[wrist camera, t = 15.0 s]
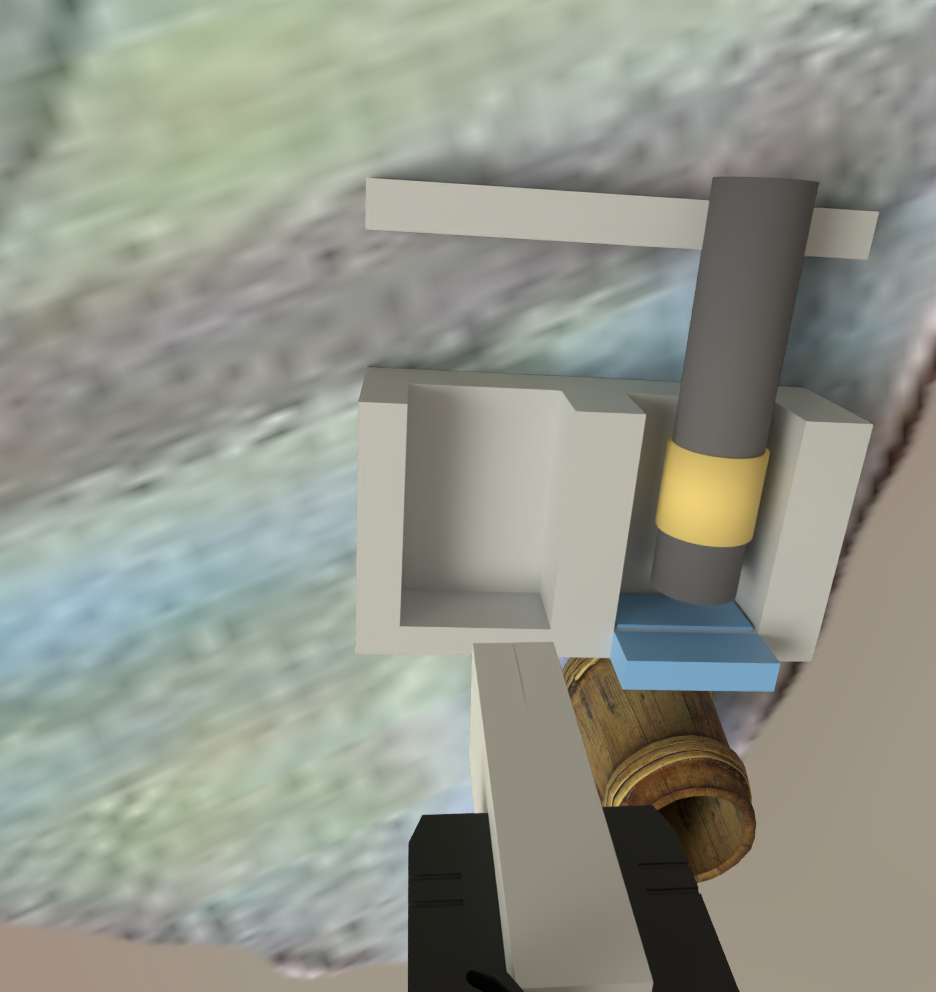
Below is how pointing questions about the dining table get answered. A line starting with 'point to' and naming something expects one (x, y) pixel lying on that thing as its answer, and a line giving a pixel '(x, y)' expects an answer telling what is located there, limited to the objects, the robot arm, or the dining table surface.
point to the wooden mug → (665, 762)
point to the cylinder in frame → (583, 480)
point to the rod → (729, 384)
